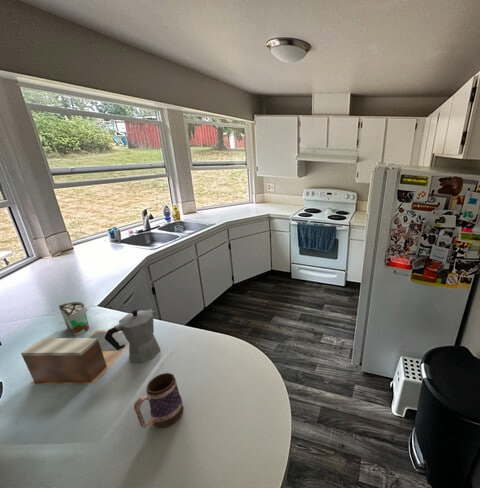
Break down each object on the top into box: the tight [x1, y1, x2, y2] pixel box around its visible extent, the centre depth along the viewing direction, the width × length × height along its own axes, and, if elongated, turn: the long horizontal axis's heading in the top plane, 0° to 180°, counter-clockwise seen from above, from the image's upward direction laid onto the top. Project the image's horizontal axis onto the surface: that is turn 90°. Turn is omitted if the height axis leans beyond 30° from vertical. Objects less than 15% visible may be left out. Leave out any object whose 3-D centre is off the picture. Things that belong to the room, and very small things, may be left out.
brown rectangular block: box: [20, 337, 107, 383], centre depth 75 cm, size 16×6×11 cm, turn 93°
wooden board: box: [29, 329, 129, 385], centre depth 85 cm, size 18×24×1 cm
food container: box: [58, 301, 90, 337], centre depth 96 cm, size 12×6×10 cm, turn 58°
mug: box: [133, 372, 184, 429], centre depth 63 cm, size 10×7×12 cm
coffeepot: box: [105, 308, 161, 364], centre depth 82 cm, size 15×9×18 cm, turn 153°
